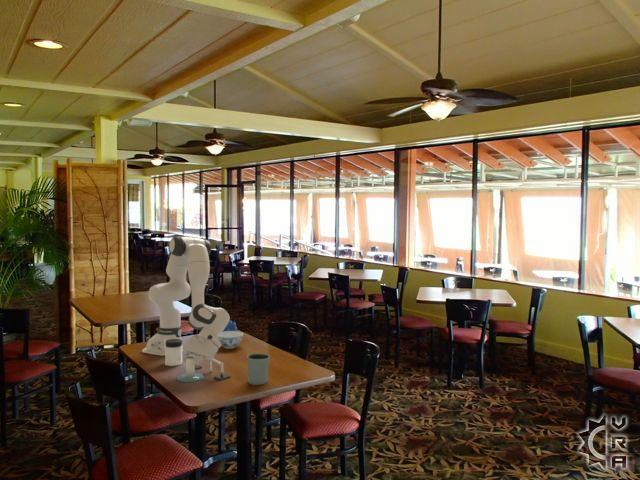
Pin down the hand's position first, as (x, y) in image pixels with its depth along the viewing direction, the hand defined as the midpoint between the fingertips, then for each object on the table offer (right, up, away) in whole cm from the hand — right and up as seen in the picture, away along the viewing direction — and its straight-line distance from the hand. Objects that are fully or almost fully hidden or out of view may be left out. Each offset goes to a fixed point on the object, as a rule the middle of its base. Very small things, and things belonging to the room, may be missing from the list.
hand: (189, 362), depth 236 cm
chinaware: (+9, -5, +56) cm, 57 cm away
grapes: (+4, -4, +74) cm, 74 cm away
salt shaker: (0, -7, 0) cm, 7 cm away
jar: (-14, -6, +23) cm, 28 cm away
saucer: (0, -7, 0) cm, 7 cm away
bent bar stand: (+7, -7, +8) cm, 13 cm away
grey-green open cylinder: (+33, -8, -4) cm, 34 cm away
